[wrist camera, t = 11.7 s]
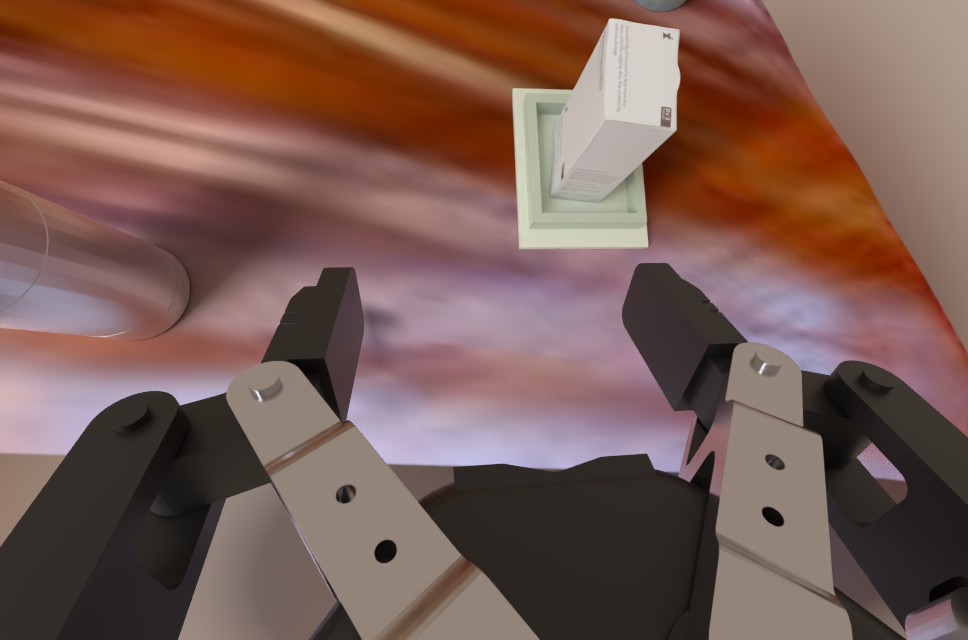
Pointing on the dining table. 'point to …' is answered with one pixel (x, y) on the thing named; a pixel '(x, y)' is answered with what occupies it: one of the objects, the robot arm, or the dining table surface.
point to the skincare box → (616, 110)
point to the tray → (561, 219)
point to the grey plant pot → (660, 4)
